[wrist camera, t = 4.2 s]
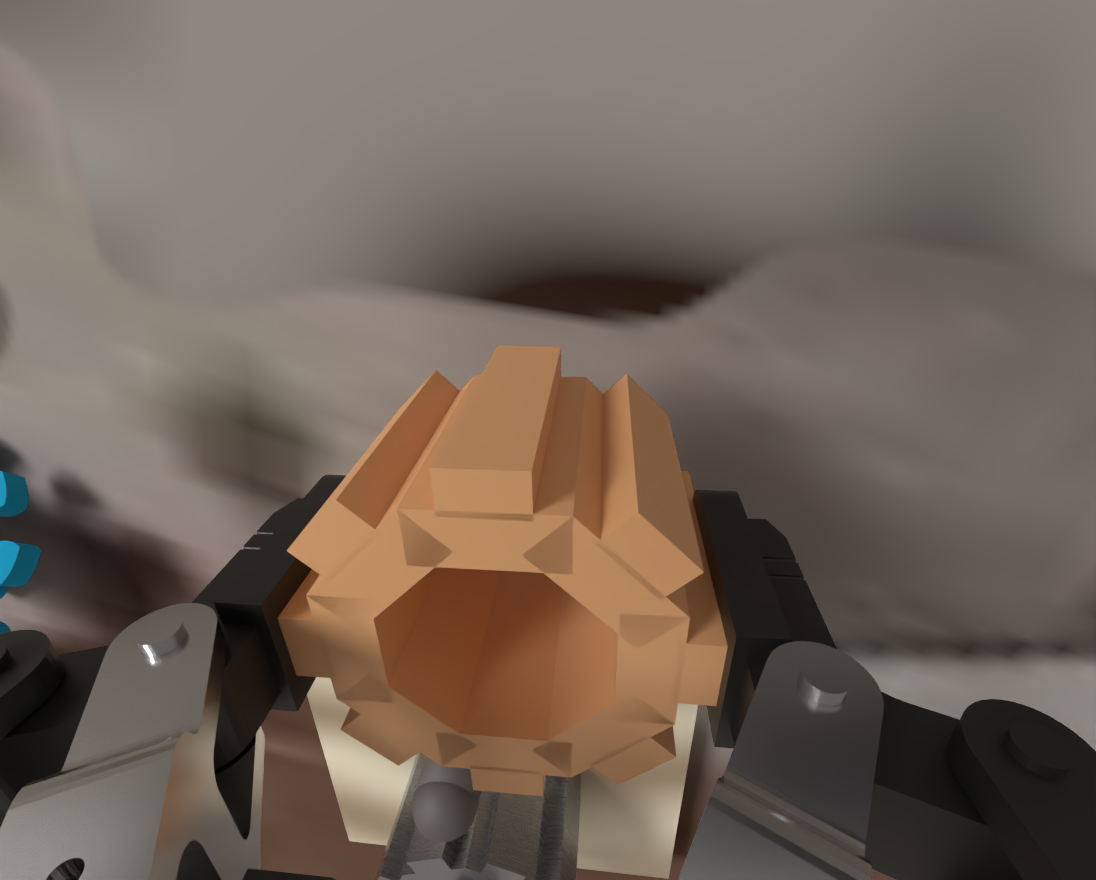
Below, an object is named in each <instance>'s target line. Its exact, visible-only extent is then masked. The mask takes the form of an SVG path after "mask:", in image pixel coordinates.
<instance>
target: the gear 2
mask: <svg viewBox="0 0 1096 880" xmlns="http://www.w3.org/2000/svg"><path fill="white" fill-rule="evenodd" d="M425 757H426V756H425V755H424V754H422V753H421V752H419V753H418V754H417V756H416V759H415V762H414V765H413V768H412V771H411V774H410V777H409V780H408V783H407V786H406V789H405V792H404V795H403V798H402V801H401V804H400V807H399V810H398V813H397V816H396V819H395V822H394V825H393V828H392V831H391V834H390V837H389V840H388V843H387V846H386V849H385V852H384V855H383V858H382V861H381V864H380V867H379V870H378V873H377V876H376V879H375V880H576V874H577V855H578V836H579V817H580V798H581V795H580V787H581V773H579V774H577V775H575V776H573V777H572V778H571V777H559V776H548V775H545V782H544V792H543V796H534V795H523V794H512V793H501V792H490V791H481V795H480V800H479V805H478V809H477V813H476V816H475V818H474V821H473V822H472V824H471V826H470V827H469V828H468V830H467V831H466V832H465V833H464V834H463V835H461V836H460V837H459V838H457V839H455V840H453V841H449V842H435V841H432V840H430V839H428V838H426V837H425V836H424V835H423V834H422V833H421V832H420V831H419V830H418V828H417V826H416V824H415V822H414V818H413V814H412V801H413V795H414V792H415V789H416V786H417V782H418V779H419V776H420V773H421V770H422V767H423V764H424V760H425Z"/></svg>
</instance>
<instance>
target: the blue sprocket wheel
mask: <svg viewBox="0 0 1096 880" xmlns="http://www.w3.org/2000/svg"><path fill="white" fill-rule="evenodd" d="M27 506H28V489H27V485H26V481H25V478H24V477H21V476H17V475H13V474H10V473H6V472H3V471H0V516H6V517H10V516H15V515H18V514H20V513H22V512H23V511H25V510H26V509H27ZM41 551H42V550H41V549H40V548H39V547H37V546H35V545H32V544H25V543H18V542H12V541H0V599H1V598H2V597H3V596H4V595H5V594H6V592H7V590H8V586H11V587H18V586H23V585H25V584H26V583H27V582H28V581H29V579H30V578H31V576H32V574H33V573H34V571H35V568H36V566H37V564H38V561H39V557H40V554H41ZM8 632H11V631H10V629H9V627H8V626H7V625H6V624H5V623H3V622H1V621H0V634H4V633H8Z"/></svg>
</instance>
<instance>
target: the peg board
mask: <svg viewBox="0 0 1096 880" xmlns="http://www.w3.org/2000/svg"><path fill="white" fill-rule="evenodd" d="M307 696H308V699H309V703H310V706H311V710H312V713H313V717H314V720H315V724H316V727H317V731H318V734H319V738H320V741H321V744H322V748H323V751H324V755H325V758H326V762H327V765H328V769H329V772H330V776H331V779H332V782H333V786H334V789H335V793H336V796H337V800H338V803H339V807H340V810H341V814H342V817H343V820H344V824H345V827H346V831H347V834H348V838H349V841H353V842H362V843H370V844H379V845H387V843H388V840H389V837H390V834H391V831H392V828H393V825H394V822H395V819H396V816H397V813H398V810H399V807H400V804H401V801H402V798H403V795H404V792H405V789H406V786H407V783H408V780H409V777H410V774H411V771H412V768H413V765H414V762H415V759H416V756H417V754H416V755H415V756H413V757H411V758H410V759H408V760H407V761H405V762H404V763H402V764H400V765H399V766H398V765H396V764H395V763H393V762H391V761H390V760H388V759H387V758H385V757H383V756H382V755H380V754H379V753H377V752H375V751H374V750H372V749H371V748H369V747H367V746H366V745H364V744H363V743H361V742H359V741H358V740H356V739H354V738H353V737H351V736H350V735H348V734H346V733H345V732H343V731H342V730H340V729H341V727H342V725H343V723H344V721H345V719H346V716H347V714H348V712H349V710H350V707H349V706H347V705H345V704H344V703H342V702H341V701H339V700H338V699H336V695H335V692H334V688H333V685H332V682H331V678H323V677H316V679H315V681H314V682H313V684H312V686H311V688H310V690H309V692H308V693H307ZM697 709H698V705H692V704H679V703H678V706H677V713H676V720H675V725H673V731H674V740H675V749H676V758H674V759H672V760H670V761H668V762H665V763H663V764H661V765H659V766H657V767H655V768H653V769H651V770H649V771H647V772H645V773H642V774H640V775H638V776H636V777H634V778H632V779H630V780H628V781H626V782H624V783H622V784H620V785H618V784H616V783H615V782H614V781H612V780H611V779H609V778H608V777H606V776H605V775H604V774H602V773H601V772H599V771H598V770H596V769H595V768H594V767H591V768H589V769H587V770H585V771H583V772H581V787H580V795H581V798H580V817H579V836H578V855H577V868H581V869H590V870H598V871H607V872H615V873H624V874H632V875H640V876H649V877H657V878H666V879H668V878H669V872H670V867H671V861H672V855H673V849H674V843H675V837H676V832H677V826H678V820H679V814H680V808H681V803H682V797H683V791H684V785H685V779H686V773H687V768H688V762H689V756H690V750H691V744H692V738H693V733H694V727H695V721H696V715H697ZM480 795H481V791H478V790H473V785H472V777H471V770H470V769H467V768H456V767H444V766H441V765H439V764H438V763H436V762H435V761H433V760H432V759H430V758H428V757H427V756H426V757H425V760H424V764H423V767H422V770H421V773H420V776H419V779H418V782H417V786H416V789H415V792H414V795H413V801H412V814H413V818H414V822H415V824H416V826H417V828H418V830H419V831H420V832H421V833H422V834H423V835H424V836H425V837H426V838H428V839H430V840H432V841H435V842H449V841H453V840H455V839H457V838H459V837H460V836H461V835H463V834H464V833H465V832H466V831H467V830H468V828H469V827H470V826H471V824H472V822H473V821H474V818H475V816H476V813H477V809H478V805H479V800H480Z"/></svg>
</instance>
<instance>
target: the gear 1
mask: <svg viewBox="0 0 1096 880" xmlns="http://www.w3.org/2000/svg"><path fill="white" fill-rule="evenodd" d="M693 496H694V490H693V486H692V482H691V478H690V474H689V471H681V468H680V463H679V459H678V455H677V450H676V446H675V441H674V437H673V433H672V428H671V424H670V419H669V415H668V414H667V413H666V412H665V411H664V410H663V409H662V408H661V407H660V406H659V405H658V404H657V403H656V402H655V401H654V400H653V399H652V398H651V397H650V396H649V395H648V394H647V393H646V392H645V391H644V390H643V389H642V388H641V387H640V386H639V385H638V384H637V383H636V382H635V381H634V380H633V379H632V378H631V377H630V376H629V375H628V374H626V375H625V376H624V377H622V378H621V379H620V380H619V381H618V382H617V383H615V384H614V385H613V386H612V387H611V388H610V389H609V390H607V391H606V392H605V393H604V394H603V393H602V392H601V391H600V390H599V389H597V388H596V387H595V386H594V385H593V384H592V383H591V382H590V381H589V380H588V379H587V378H586V377H561V347H547V346H497V347H496V349H495V351H494V353H493V355H492V356H491V358H490V360H489V362H488V364H487V365H486V367H485V369H484V371H483V373H482V374H481V375H475V376H474V377H473V378H472V379H471V380H470V381H469V382H468V383H467V384H466V385H465V386H464V387H463V388H462V389H461V390H460V391H459V390H458V389H457V388H456V387H455V386H453V385H452V384H451V383H450V382H449V381H448V380H447V379H446V378H444V377H443V376H442V375H441V374H440V373H439V372H438V371H437V370H436V371H435V372H434V373H433V374H432V375H431V376H430V377H429V378H428V379H427V380H426V381H425V382H424V383H423V384H422V385H421V387H420V388H419V389H418V390H417V391H416V392H415V393H414V394H413V395H412V396H411V397H410V398H409V399H408V400H407V402H406V403H405V404H404V405H403V406H402V407H401V408H400V409H399V410H398V412H397V413H396V414H395V415H394V417H393V418H392V419H391V420H390V422H389V423H388V424H387V425H386V427H385V428H384V429H383V430H382V432H381V433H380V434H379V435H378V437H377V438H376V439H375V440H374V442H373V443H372V444H371V445H370V447H369V448H368V449H367V451H366V452H365V453H364V454H363V456H362V457H361V458H360V459H359V461H358V462H357V463H356V464H355V466H354V467H353V468H352V469H351V471H350V472H349V473H348V474H347V476H346V477H345V478H344V479H343V481H342V482H341V483H340V484H339V486H338V487H337V488H336V489H335V491H334V492H333V493H332V494H331V496H330V497H329V498H328V499H327V501H326V502H325V503H324V505H323V506H322V507H321V508H320V510H319V511H318V512H317V513H316V515H315V516H314V517H313V518H312V520H311V521H310V522H309V523H308V525H307V526H306V527H305V528H304V530H303V531H302V532H301V533H300V535H299V536H298V537H297V538H296V540H295V541H294V542H293V543H292V545H291V546H290V547H289V548H288V550H287V552H289V553H290V554H291V555H293V556H294V557H296V558H297V559H299V560H300V561H301V562H303V563H304V564H306V565H307V566H308V567H310V568H311V569H312V570H311V571H310V573H309V574H308V575H307V577H306V578H305V580H304V581H303V583H302V584H301V585H300V587H299V588H298V590H297V591H296V593H295V594H294V595H293V597H292V598H291V600H290V601H289V602H288V604H287V605H286V607H285V608H284V610H283V611H282V612H281V614H280V615H279V617H278V621H279V624H280V627H281V630H282V633H283V636H284V639H285V642H286V645H287V648H288V651H289V654H290V657H291V660H292V663H293V666H294V669H295V672H296V675H297V676H309V677H323V678H331V682H332V685H333V688H334V692H335V695H336V699H338V700H339V701H341V702H342V703H344V704H345V705H347V706H349V707H350V710H349V712H348V714H347V716H346V719H345V721H344V723H343V725H342V727H341V729H340V730H342V731H343V732H345V733H346V734H348V735H350V736H351V737H353V738H354V739H356V740H358V741H359V742H361V743H363V744H364V745H366V746H367V747H369V748H371V749H372V750H374V751H375V752H377V753H379V754H380V755H382V756H383V757H385V758H387V759H388V760H390V761H391V762H393V763H395V764H396V765H398V766H399V765H400V764H402V763H404V762H405V761H407V760H408V759H410V758H411V757H413V756H415V755H416V754H418V753H419V752H421V753H422V754H424V755H425V756H427V757H428V758H430V759H432V760H433V761H435V762H436V763H438V764H439V765H441V766H444V767H456V768H467V769H470V770H471V777H472V785H473V790H478V791H490V792H501V793H512V794H523V795H534V796H543V792H544V782H545V775H548V776H559V777H571V778H572V777H573V776H575V775H577V774H579V773H581V772H583V771H585V770H587V769H589V768H591V767H594V768H595V769H596V770H598V771H599V772H601V773H602V774H604V775H605V776H606V777H608V778H609V779H611V780H612V781H614V782H615V783H616V784H618V785H620V784H622V783H624V782H626V781H628V780H630V779H632V778H634V777H636V776H638V775H640V774H642V773H645V772H647V771H649V770H651V769H653V768H655V767H657V766H659V765H661V764H663V763H665V762H668V761H670V760H672V759H674V758H676V749H675V740H674V731H673V725H675V720H676V713H677V706H678V703H679V704H692V705H706V706H716V705H717V699H718V694H719V689H720V684H721V679H722V674H723V668H724V663H725V658H726V653H727V648H728V646H727V641H726V637H725V633H724V629H723V625H722V621H721V616H720V612H719V608H718V604H717V600H716V595H715V591H714V587H713V583H712V579H711V574H710V570H709V566H708V562H707V558H706V554H705V549H704V545H703V541H702V537H701V533H700V528H699V524H698V520H697V516H696V512H695V508H694V503H693Z"/></svg>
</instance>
